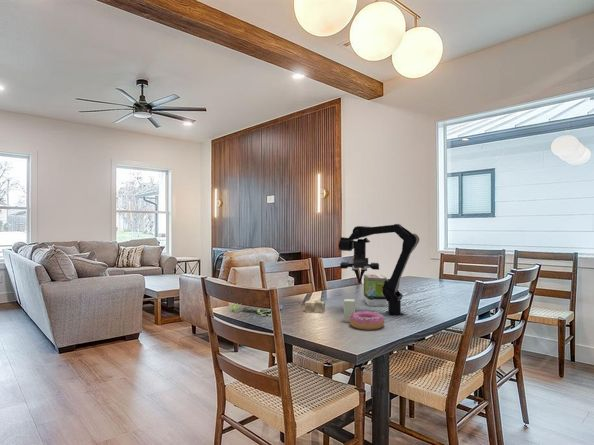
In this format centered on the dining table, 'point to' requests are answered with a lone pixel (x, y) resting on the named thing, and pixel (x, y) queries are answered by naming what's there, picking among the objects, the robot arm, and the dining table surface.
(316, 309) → the maple block
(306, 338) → the dining table surface
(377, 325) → the donut
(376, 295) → the tea box
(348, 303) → the sage block
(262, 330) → the dining table surface
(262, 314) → the figurine
